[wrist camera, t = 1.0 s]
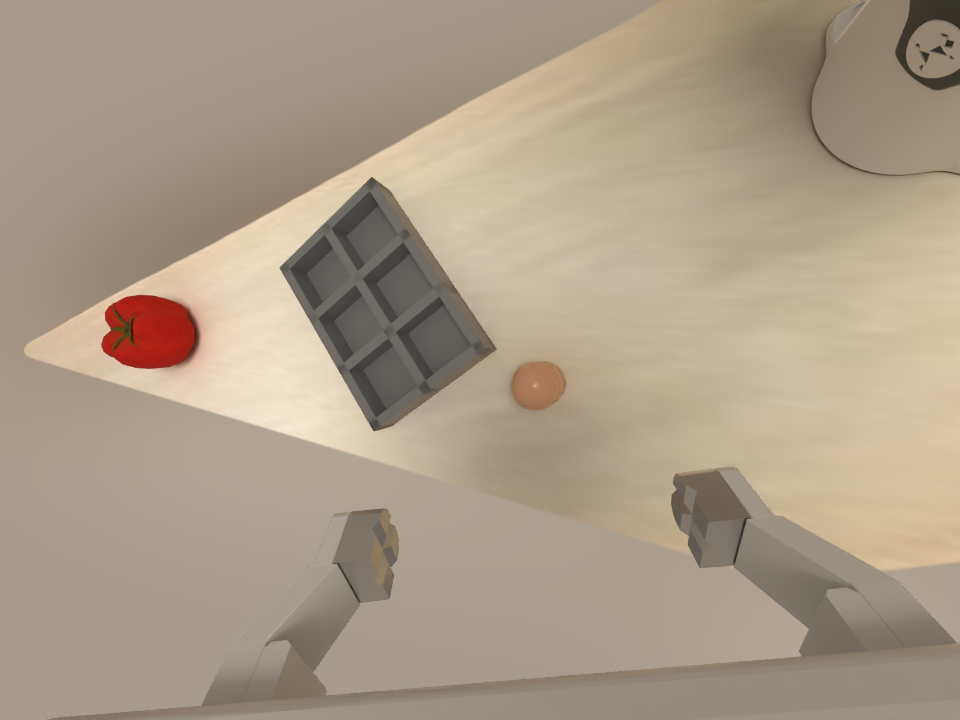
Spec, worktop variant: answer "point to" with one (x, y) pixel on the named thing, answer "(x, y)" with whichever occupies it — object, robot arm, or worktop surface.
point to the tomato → (148, 332)
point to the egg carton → (384, 307)
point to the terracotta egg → (538, 385)
